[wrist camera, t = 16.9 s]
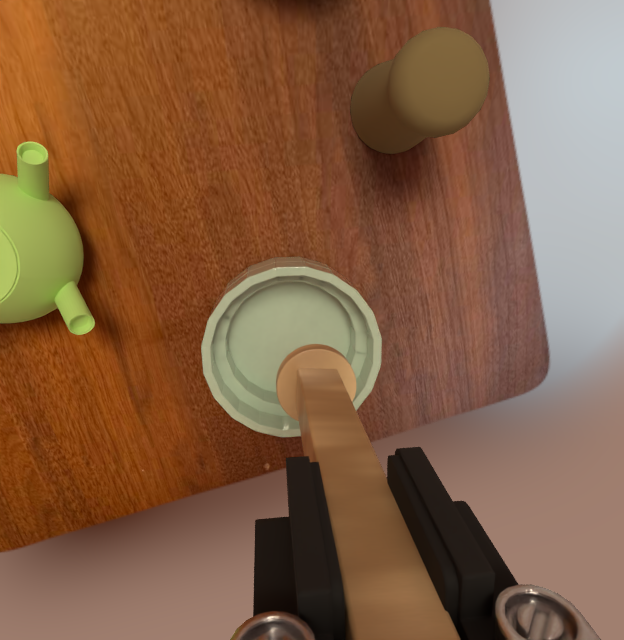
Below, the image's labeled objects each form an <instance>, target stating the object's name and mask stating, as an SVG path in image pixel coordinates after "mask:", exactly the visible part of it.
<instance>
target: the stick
mask: <svg viewBox="0 0 624 640" xmlns="http://www.w3.org/2000/svg"><path fill="white" fill-rule="evenodd" d="M276 392H277V397H278V400H279V403H280V405H281V407H282V408H283V410H284V411H285V412H286V413H287V414H288V415H289V416H290V417H292V418H293V419H295V420H297V421H299V426H300V433H301V439H302V445H303V451H304V456H309V459H310V462H319V466H320V471H321V476H322V481H323V486H324V491H325V496H326V501H327V506H328V511H329V516H330V521H331V526H332V531H333V536H334V541H335V547H336V552H337V557H338V562H339V567H340V572H341V577H342V584H343V592H344V609H345V640H461V639H460V637H459V635H458V633H457V630H456V628H455V626H454V624H453V622H452V620H451V617H450V615H449V613H448V612H447V611H445V610H444V607H443V605H442V603H441V601H440V599H439V596H438V594H437V592H436V590H435V587H434V585H433V583H432V581H431V579H430V576H429V574H428V572H427V570H426V567H425V565H424V563H423V561H422V559H421V556H420V554H419V552H418V550H417V548H416V545H415V543H414V541H413V539H412V536H411V534H410V532H409V530H408V528H407V525H406V523H405V521H404V519H403V516H402V514H401V512H400V510H399V508H398V505H397V503H396V501H395V499H394V496H393V494H392V492H391V490H390V488H389V485H388V483H387V477H386V475H385V473H384V471H383V469H382V466H381V464H380V462H379V460H378V458H377V455H376V453H375V451H374V449H373V447H372V445H371V442H370V440H369V438H368V436H367V434H366V431H365V429H364V427H363V425H362V423H361V420H360V418H359V416H358V414H357V412H356V410H355V407H354V405H353V403H352V402H353V400H354V397H355V394H356V377H355V374H354V371H353V369H352V367H351V365H350V363H349V362H348V360H347V359H346V358H345V356H344V355H343V354H342V353H340V352H339V351H338V350H336V349H334V348H332V347H330V346H327V345H323V344H310V345H305V346H302V347H299V348H297V349H295V350H294V351H292V352H291V353H290V354H289V355H288V356H287V357H286V358H285V359H284V360H283V361H282V363H281V365H280V367H279V369H278V372H277V376H276Z"/></svg>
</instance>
